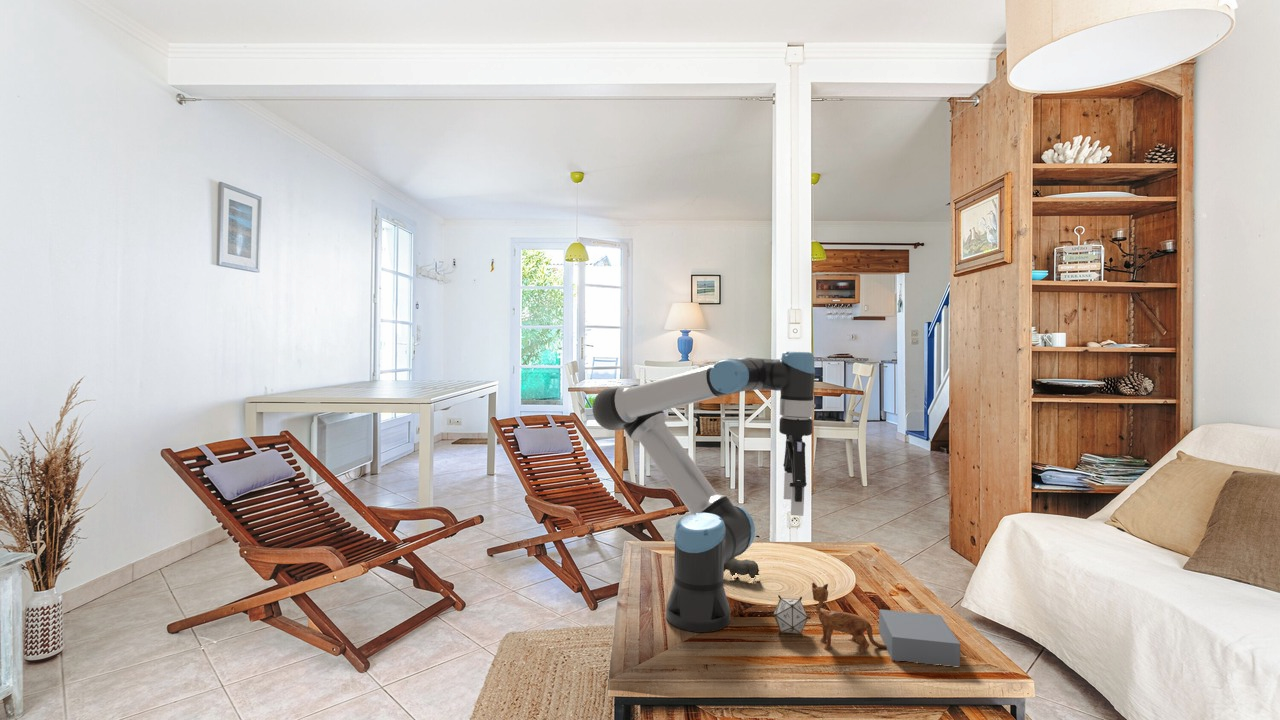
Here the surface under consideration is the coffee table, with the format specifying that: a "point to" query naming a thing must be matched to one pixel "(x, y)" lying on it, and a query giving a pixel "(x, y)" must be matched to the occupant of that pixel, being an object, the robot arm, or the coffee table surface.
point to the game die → (790, 615)
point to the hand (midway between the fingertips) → (792, 506)
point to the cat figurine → (842, 622)
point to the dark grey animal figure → (742, 567)
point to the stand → (918, 638)
